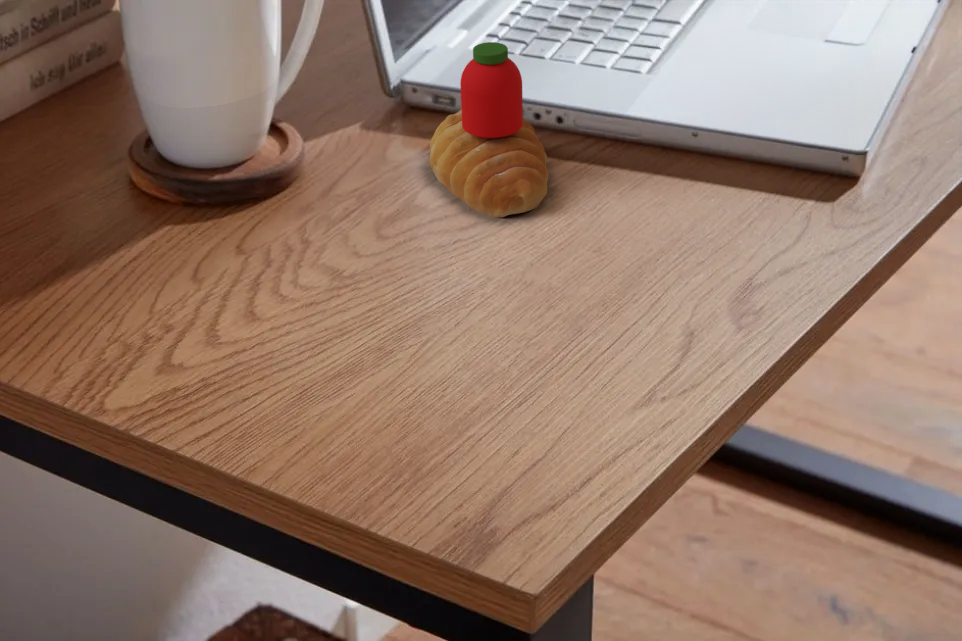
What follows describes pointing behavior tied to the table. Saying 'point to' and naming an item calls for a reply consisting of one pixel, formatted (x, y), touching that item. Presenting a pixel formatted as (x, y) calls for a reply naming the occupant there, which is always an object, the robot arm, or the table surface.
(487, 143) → the pastry
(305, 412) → the table surface
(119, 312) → the table surface
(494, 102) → the red sauce bottle
